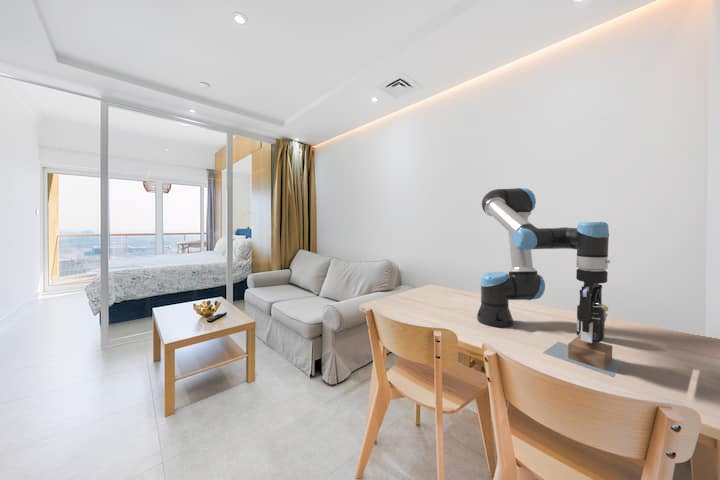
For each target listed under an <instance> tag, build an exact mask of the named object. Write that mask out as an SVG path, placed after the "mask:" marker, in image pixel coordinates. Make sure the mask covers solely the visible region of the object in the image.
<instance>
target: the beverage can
mask: <svg viewBox="0 0 720 480" xmlns="http://www.w3.org/2000/svg"><path fill="white" fill-rule="evenodd" d="M579 306H580V303H579V304H578V305H577V306H576V335H577V337H580V338H581V321H579V320H578V318H579ZM605 313H606V312H605V310H604V309H603V308H602V305H601V304H599V303H594V305H593V313H592V322H593V333H592V342H594V343H598V342H600V343H602V342H603V341H604V340H605V328H606V327H605V326H606V325H605V322H606V321H605ZM584 318H585V317H584Z"/></svg>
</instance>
